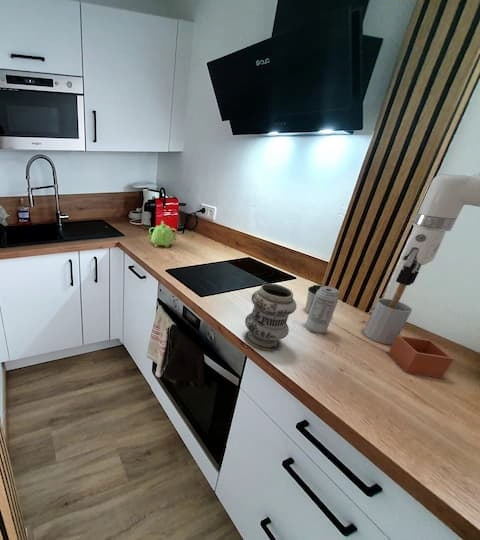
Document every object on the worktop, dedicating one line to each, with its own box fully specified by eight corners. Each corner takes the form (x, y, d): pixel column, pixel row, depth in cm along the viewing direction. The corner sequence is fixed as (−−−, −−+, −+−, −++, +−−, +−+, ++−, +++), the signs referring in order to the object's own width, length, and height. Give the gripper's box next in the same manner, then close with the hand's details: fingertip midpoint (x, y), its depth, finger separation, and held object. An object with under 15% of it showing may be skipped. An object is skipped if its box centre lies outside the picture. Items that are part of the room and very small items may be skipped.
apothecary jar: (264, 357, 82) (280, 303, 74) (233, 334, 91) (244, 284, 84) (292, 347, 86) (310, 294, 79) (259, 325, 96) (272, 277, 89)
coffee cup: (315, 318, 102) (324, 294, 98) (297, 309, 107) (304, 285, 103) (327, 314, 104) (336, 290, 100) (309, 305, 110) (316, 282, 106)
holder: (420, 358, 83) (430, 340, 81) (442, 378, 76) (454, 359, 74) (387, 353, 85) (397, 335, 83) (406, 372, 78) (416, 353, 75)
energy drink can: (329, 330, 95) (344, 290, 89) (320, 336, 92) (335, 295, 86) (310, 321, 100) (323, 283, 94) (301, 326, 97) (314, 287, 91)
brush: (392, 329, 91) (423, 266, 82) (387, 333, 89) (419, 269, 80) (376, 323, 94) (405, 262, 85) (371, 326, 92) (400, 264, 83)
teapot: (143, 242, 177) (144, 222, 172) (160, 239, 185) (162, 220, 179) (160, 250, 165) (162, 228, 160) (178, 246, 172) (180, 225, 167)
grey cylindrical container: (385, 331, 95) (401, 300, 91) (401, 346, 88) (418, 313, 83) (358, 327, 97) (372, 296, 92) (371, 342, 90) (386, 309, 85)
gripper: (444, 228, 71) (411, 293, 78) (461, 222, 78) (429, 282, 86) (405, 222, 77) (377, 283, 84) (424, 216, 84) (398, 273, 92)
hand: (404, 282), depth 85 cm, fingers closed on brush
